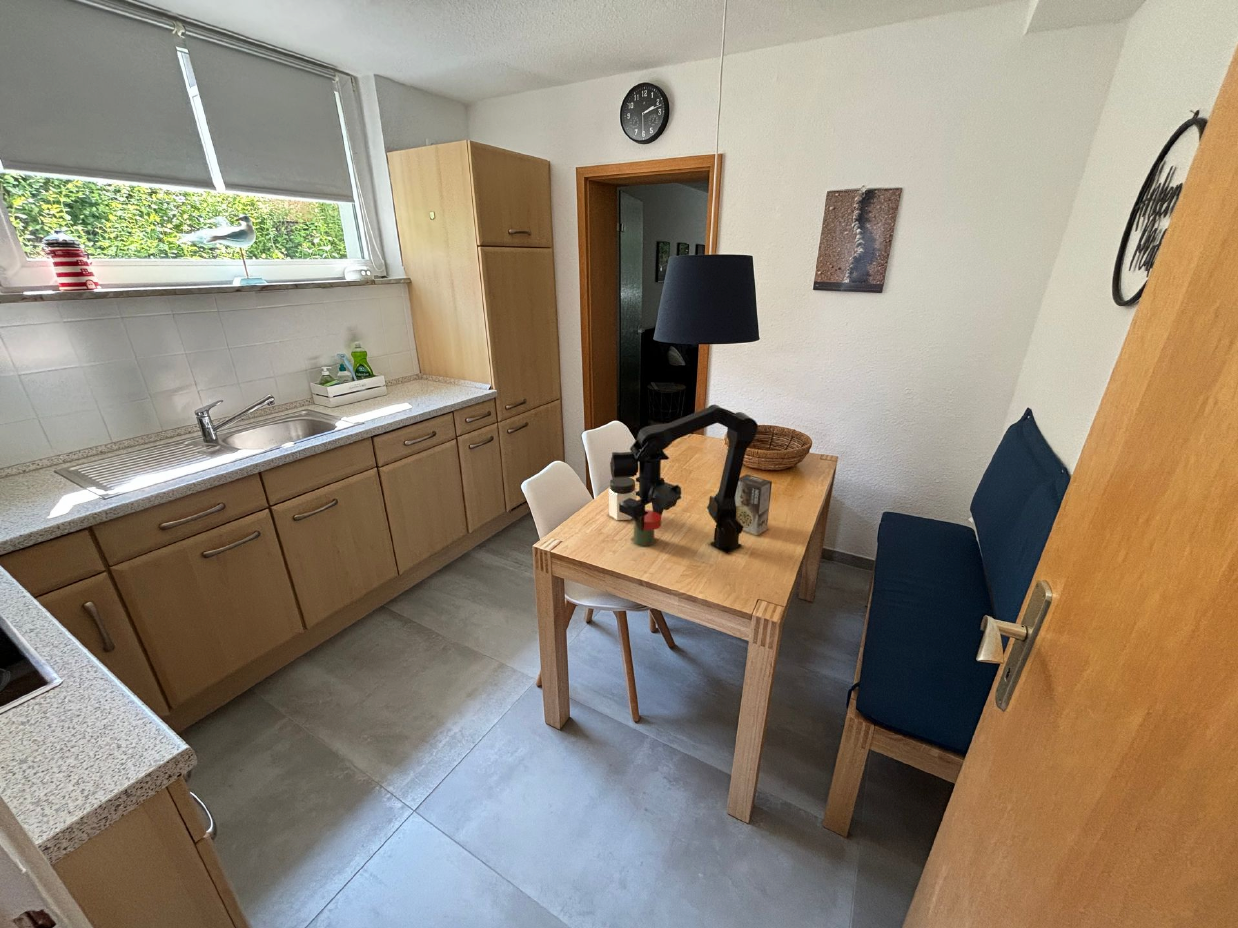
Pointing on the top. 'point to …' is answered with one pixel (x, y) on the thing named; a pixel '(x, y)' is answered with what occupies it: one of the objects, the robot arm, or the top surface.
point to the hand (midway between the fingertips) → (649, 526)
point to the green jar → (643, 536)
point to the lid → (652, 520)
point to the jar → (620, 496)
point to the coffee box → (753, 503)
